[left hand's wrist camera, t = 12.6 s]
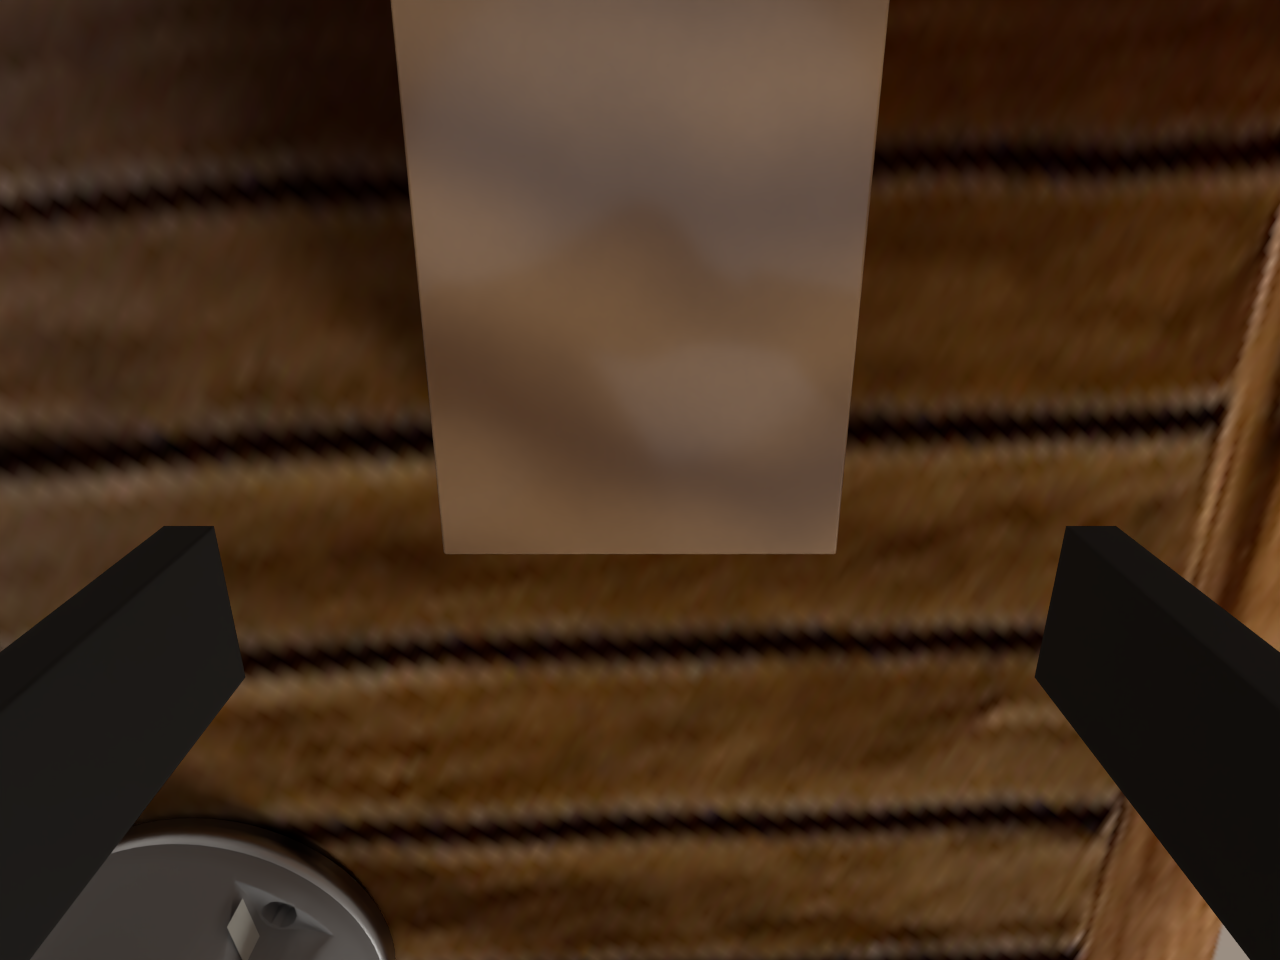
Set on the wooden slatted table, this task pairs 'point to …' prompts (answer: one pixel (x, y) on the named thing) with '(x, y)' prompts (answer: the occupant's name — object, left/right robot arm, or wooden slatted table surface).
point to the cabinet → (639, 265)
